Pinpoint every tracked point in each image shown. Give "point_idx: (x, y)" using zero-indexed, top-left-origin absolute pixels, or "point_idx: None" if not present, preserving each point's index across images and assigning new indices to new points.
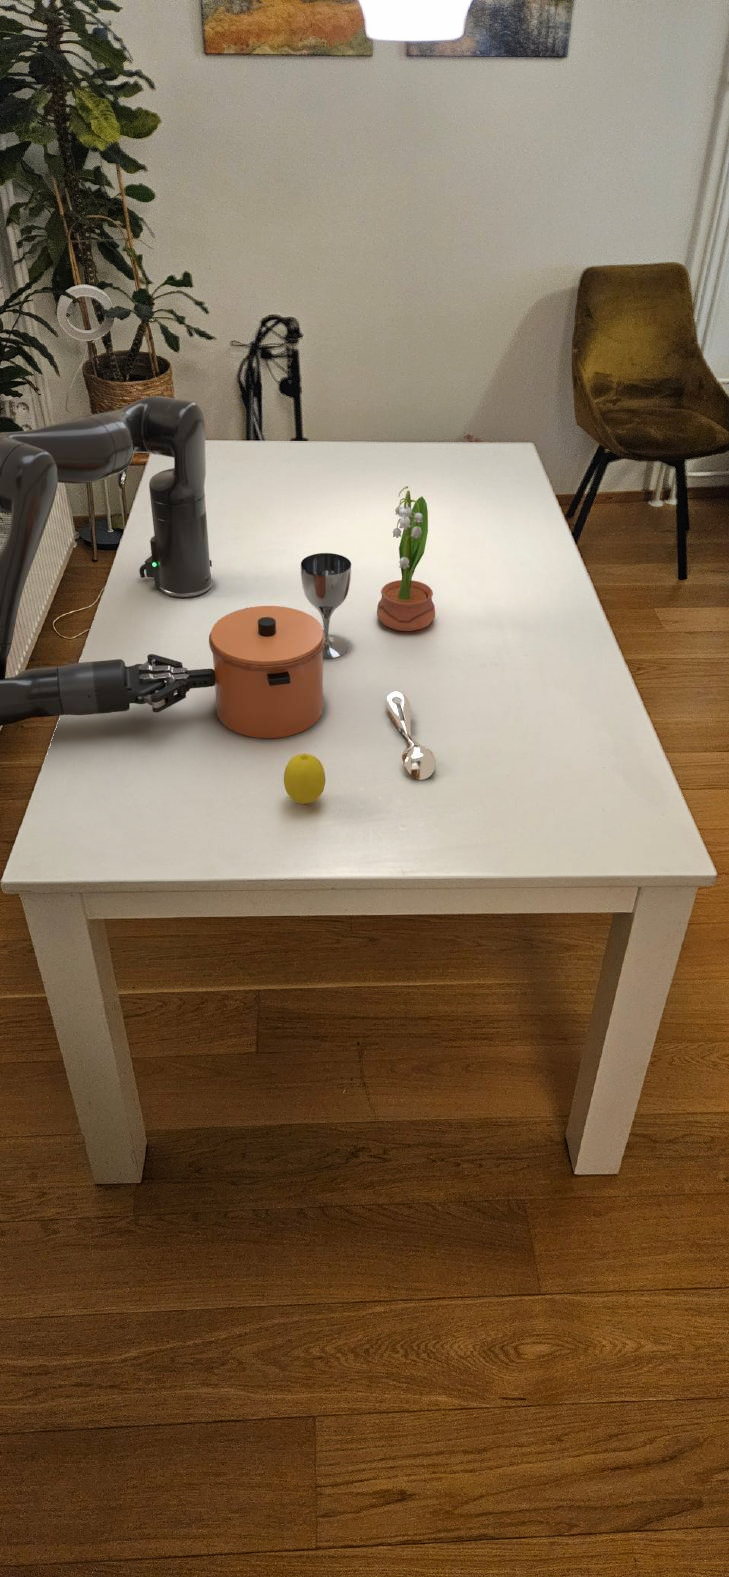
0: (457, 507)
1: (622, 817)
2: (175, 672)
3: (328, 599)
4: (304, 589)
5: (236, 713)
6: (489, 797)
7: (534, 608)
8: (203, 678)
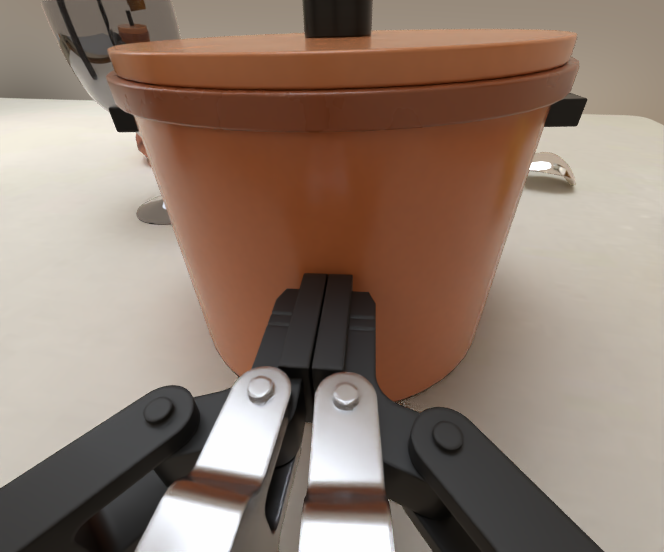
0: (13, 118)
1: (586, 124)
2: (270, 454)
3: None
4: (112, 70)
5: (466, 320)
6: (588, 158)
7: None
8: (365, 319)
